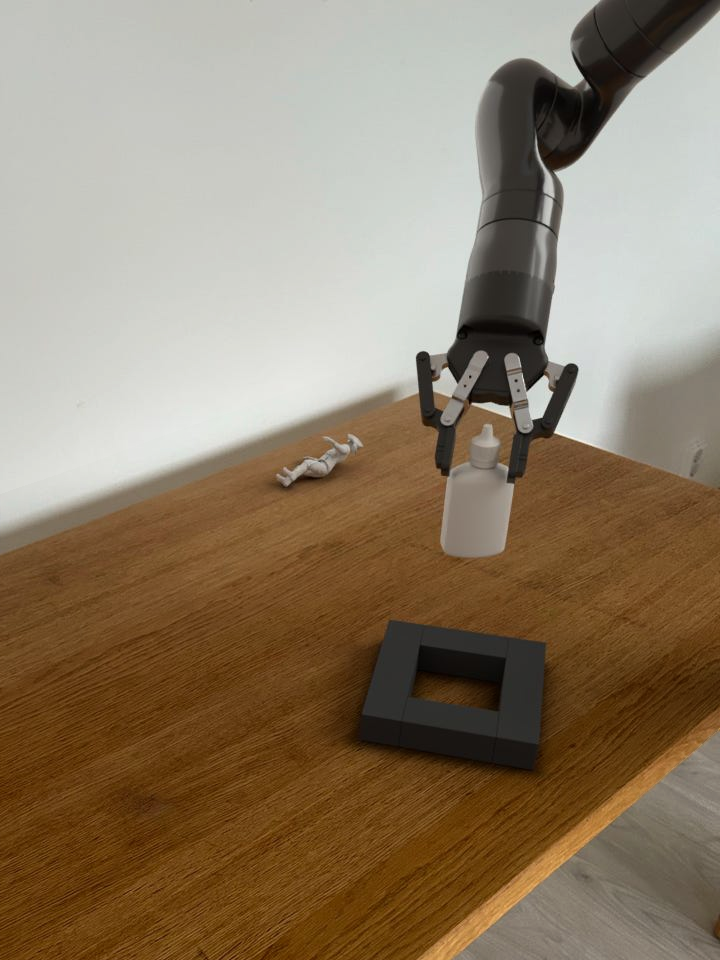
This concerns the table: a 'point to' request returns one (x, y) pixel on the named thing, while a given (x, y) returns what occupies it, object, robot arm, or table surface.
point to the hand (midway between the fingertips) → (478, 476)
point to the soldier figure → (322, 461)
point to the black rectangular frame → (449, 725)
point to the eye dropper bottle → (477, 502)
